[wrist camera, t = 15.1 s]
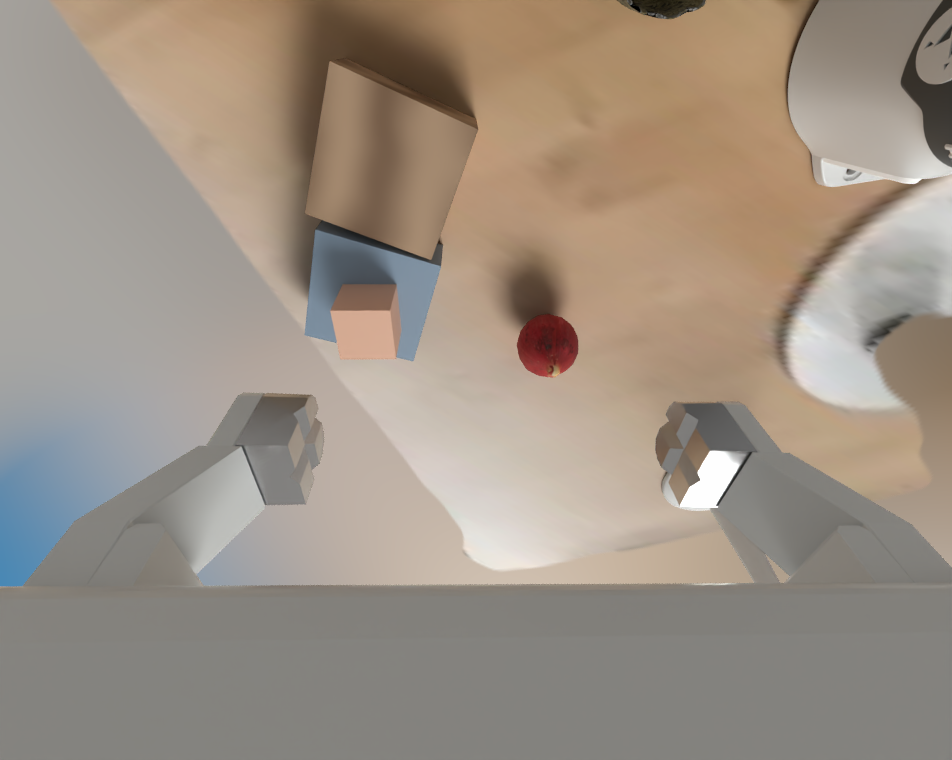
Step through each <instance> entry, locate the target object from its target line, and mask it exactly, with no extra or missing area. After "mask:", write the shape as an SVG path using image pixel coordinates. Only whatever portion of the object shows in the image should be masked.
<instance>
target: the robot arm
mask: <svg viewBox="0 0 952 760" xmlns="http://www.w3.org/2000/svg"><path fill="white" fill-rule="evenodd" d="M788 106H789V113H790V117H791V120H792V123H793V126H794V128H795V130H796V132H797V133H798V135H799V136H800V138H801V139H802V140H803V142H804V143H805V144H806V145H807V147H808V148H809V150H810V152H811V154H812V165H813V173H814V178H815V180H816V182H817V183H818V184H820V185H823V186H828V187H837V186H843V185H849V184H856V183H862V182H869V181H875V180H881V179H889V180H893V181H897V182H901V183H907V184H915V183H917V182H918V181H920V180H921V179H928V178H936V177H942V176H946V175H951V174H952V0H819V2H818V4H817V5H816V7H815V9H814V10H813V12H812V14H811V16H810V18H809V20H808V22H807V24H806V26H805V28H804V30H803V33H802V35H801V37H800V40H799V42H798V45H797V48H796V51H795V54H794V57H793V61H792V65H791V70H790V75H789V83H788ZM847 169H850V170H849V171H848V172H846V171H847ZM317 411H318V405H317V402H316V398H315V397H314V396H313V395H299V394H276V393H266V394H264V393H242V394H240V395H238V397H237V398H236V400H235V401H234V403H233V404H232V406H231V408H230V409H229V411H228V412H227V414H226V415H225V417H224V419H223V420H222V422H221V423H220V425H219V426H218V428H217V430H216V431H215V433H214V434H213V436H212V438H211V439H210V441H209V442H208V444H207V446H198V447H196V448H195V449H193V450H191V451H190V452H188V453H187V454H185V455H183V456H181V457H180V458H178V459H176V460H175V461H173V462H171V463H170V464H168V465H167V466H165V467H163V468H162V469H160V470H158V471H157V472H155V473H153V474H152V475H150V476H149V477H147V478H145V479H144V480H142V481H140V482H138V483H137V484H135V485H134V486H132V487H130V488H129V489H127V490H125V491H124V492H122V493H120V494H119V495H117V496H115V497H114V498H112V499H111V500H109V501H107V502H105V503H104V504H102V505H101V506H99V507H97V508H96V509H94V510H92V511H91V512H89V513H87V514H86V515H84V516H82V517H81V518H79V519H77V520H76V521H74V523H73V524H72V525H71V527H70V528H69V529H68V530H67V531H66V533H65V534H64V535H63V536H62V538H61V539H60V540H59V541H58V543H57V544H56V545H55V547H54V548H53V549H52V550H51V551H50V553H49V554H48V555H47V556H46V558H45V559H44V560H43V561H42V563H41V564H40V565H39V566H38V568H37V569H36V570H35V571H34V573H33V574H32V575H31V576H30V578H29V579H28V580H27V581H26V583H25V584H24V585H23V586H22V587H0V760H952V567H951V566H950V565H949V564H948V563H947V562H946V561H945V560H944V559H943V558H942V557H941V556H940V555H939V554H938V552H937V551H936V550H935V549H934V548H933V547H932V546H931V545H930V544H929V543H928V542H927V541H926V539H924V537H923V536H922V535H921V534H920V533H919V532H918V531H917V530H916V529H915V528H914V527H913V525H912V524H910V523H908V522H906V521H905V520H903V519H901V518H900V517H898V516H896V515H895V514H893V513H891V512H889V511H888V510H886V509H884V508H883V507H881V506H879V505H877V504H876V503H874V502H872V501H871V500H869V499H867V498H865V497H864V496H862V495H860V494H859V493H857V492H855V491H853V490H852V489H850V488H848V487H847V486H845V485H843V484H841V483H840V482H838V481H836V480H835V479H833V478H831V477H829V476H828V475H826V474H824V473H823V472H821V471H819V470H817V469H816V468H814V467H812V466H811V465H809V464H807V463H805V462H804V461H802V460H800V459H799V458H797V457H795V456H793V455H792V454H790V453H782V452H781V450H780V449H779V448H778V447H777V445H776V444H775V443H774V441H773V440H772V439H771V438H770V436H769V435H768V434H767V433H766V431H765V430H764V429H763V428H762V426H761V425H760V424H759V422H758V421H757V420H756V419H755V417H754V416H753V415H752V414H751V412H750V411H749V410H748V408H747V407H746V406H745V405H744V404H742V403H740V402H673V403H672V404H671V405H670V406H669V408H668V411H667V413H666V416H667V418H668V420H669V422H668V423H666V424H665V425H664V426H662V427H661V428H660V429H659V432H658V434H657V437H656V448H655V450H656V455H657V459H658V461H659V463H660V466H661V467H662V468H663V469H664V470H666V471H667V472H668V473H669V474H671V477H670V480H669V482H668V483H669V485H670V487H671V489H672V491H673V493H674V495H675V497H676V499H677V501H678V504H679V506H688V507H717V508H716V510H718V511H719V512H720V513H721V514H722V515H723V516H724V517H725V518H726V519H727V520H729V521H730V522H731V523H732V524H733V525H734V526H735V527H736V528H737V529H738V530H740V531H741V532H742V533H743V534H744V535H745V536H746V537H747V538H748V539H749V540H751V541H752V542H753V543H754V544H755V545H756V546H757V547H758V548H759V549H760V550H762V551H763V552H764V553H765V554H766V555H767V556H768V557H769V558H770V559H771V560H773V561H774V562H775V563H776V564H777V565H778V566H779V567H780V568H782V569H783V570H784V571H785V572H786V573H787V574H788V575H789V576H790V577H789V578H788V579H787V580H786V581H785V582H784V583H701V584H698V583H695V584H694V583H693V584H692V583H690V584H517V585H516V584H510V585H509V584H506V585H504V584H503V585H502V584H496V585H301V586H300V585H284V586H283V585H277V586H276V585H275V586H273V585H271V586H204V585H203V584H202V582H201V581H200V580H199V578H198V577H197V575H196V574H197V573H198V572H199V571H200V570H201V569H202V568H203V567H205V566H206V565H207V564H208V563H209V562H210V561H211V560H212V559H213V558H214V557H215V556H216V555H217V554H218V553H219V552H220V551H221V550H222V549H223V548H224V547H225V546H226V545H227V544H228V543H229V542H230V541H231V540H232V539H233V538H234V537H236V536H237V535H238V534H239V533H240V532H241V531H242V530H243V529H244V528H245V527H246V526H247V525H248V524H249V523H250V522H251V521H252V520H253V519H254V518H255V517H256V516H257V515H258V514H259V513H260V512H261V511H262V510H263V509H264V508H265V507H266V506H265V505H293V504H306V503H307V500H308V497H309V494H310V491H311V488H312V485H313V482H314V477H313V473H312V469H313V468H315V467H316V466H317V465H318V464H320V460H321V457H322V454H323V446H324V431H323V427H322V423H321V422H320V421H318V420H317V419H316V418H315V417H316V414H317Z"/></svg>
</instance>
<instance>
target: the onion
mask: <svg viewBox="0 0 952 760" xmlns="http://www.w3.org/2000/svg"><path fill="white" fill-rule="evenodd" d="M517 348H518V354H519V357H520V360H521V361H522V363H523V364H524V366H525V368H526V369H527V370H528V371H530V372H532V373H534V374H536V375H539V376H545V377H556V376H557V375H559V374H561V373H563V372H565V371H566V370H567V369H568V368H569V367H570V366H571V365H572V364H573V363H574V361H575V359H576V356H577V354H578V338H577V335H576V333H575V331H574V328H573V327H572V326H571V324H570V323H568V322H567V321H566V320H565V319H563V318H562V317H558V316H554V315H551V314H545V315H538V316H537V317H535V318H533V319H532V320H530V321H528V322H527V323H526V325H525V326H524V327H523V329H522V330H521V332H520V335H519V338H518V342H517Z"/></svg>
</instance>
